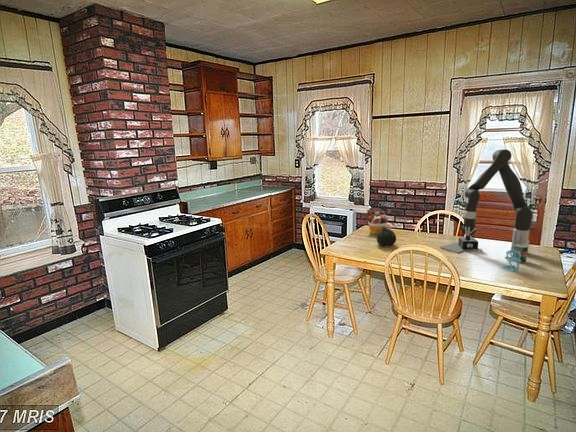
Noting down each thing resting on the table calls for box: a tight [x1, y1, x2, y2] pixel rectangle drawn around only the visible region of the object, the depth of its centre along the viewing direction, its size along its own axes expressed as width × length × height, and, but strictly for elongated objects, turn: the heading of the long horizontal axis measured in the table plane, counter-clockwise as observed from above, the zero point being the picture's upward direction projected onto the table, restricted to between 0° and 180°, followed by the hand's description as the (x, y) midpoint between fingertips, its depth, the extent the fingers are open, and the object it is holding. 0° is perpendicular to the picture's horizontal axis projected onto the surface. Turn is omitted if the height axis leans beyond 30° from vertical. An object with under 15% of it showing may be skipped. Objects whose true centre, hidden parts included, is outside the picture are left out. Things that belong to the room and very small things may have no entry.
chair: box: [501, 249, 522, 273], centre depth 217 cm, size 8×8×12 cm
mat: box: [439, 241, 472, 254], centre depth 260 cm, size 15×20×1 cm
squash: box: [376, 227, 397, 248], centre depth 270 cm, size 14×15×15 cm
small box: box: [458, 237, 479, 250], centre depth 257 cm, size 11×6×10 cm
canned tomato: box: [512, 244, 529, 264], centre depth 230 cm, size 8×8×11 cm
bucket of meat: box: [365, 209, 389, 236], centre depth 302 cm, size 20×16×20 cm
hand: (467, 240), depth 251 cm, fingers closed
